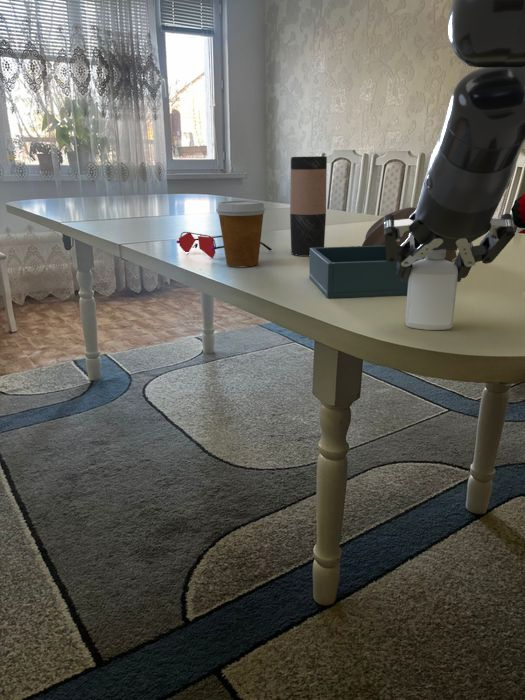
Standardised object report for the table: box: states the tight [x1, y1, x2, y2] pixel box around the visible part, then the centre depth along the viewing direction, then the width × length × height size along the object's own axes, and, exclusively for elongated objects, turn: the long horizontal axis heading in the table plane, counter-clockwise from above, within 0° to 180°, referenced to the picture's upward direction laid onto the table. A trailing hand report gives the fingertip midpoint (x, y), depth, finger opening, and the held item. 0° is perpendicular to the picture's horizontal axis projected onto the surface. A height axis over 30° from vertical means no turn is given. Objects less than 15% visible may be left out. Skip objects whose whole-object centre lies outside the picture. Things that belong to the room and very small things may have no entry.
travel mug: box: [289, 155, 328, 255], centre depth 115 cm, size 8×8×20 cm
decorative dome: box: [361, 206, 457, 263], centre depth 112 cm, size 19×20×10 cm
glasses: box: [175, 231, 273, 259], centre depth 121 cm, size 14×16×5 cm
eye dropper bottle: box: [404, 249, 458, 331], centre depth 66 cm, size 4×6×12 cm
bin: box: [308, 245, 422, 299], centre depth 88 cm, size 15×15×5 cm
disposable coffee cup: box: [215, 200, 267, 267], centre depth 106 cm, size 10×10×12 cm
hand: (429, 275), depth 67 cm, fingers closed on eye dropper bottle, 5 cm apart
